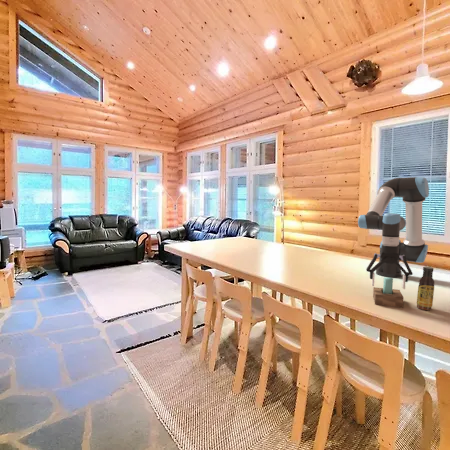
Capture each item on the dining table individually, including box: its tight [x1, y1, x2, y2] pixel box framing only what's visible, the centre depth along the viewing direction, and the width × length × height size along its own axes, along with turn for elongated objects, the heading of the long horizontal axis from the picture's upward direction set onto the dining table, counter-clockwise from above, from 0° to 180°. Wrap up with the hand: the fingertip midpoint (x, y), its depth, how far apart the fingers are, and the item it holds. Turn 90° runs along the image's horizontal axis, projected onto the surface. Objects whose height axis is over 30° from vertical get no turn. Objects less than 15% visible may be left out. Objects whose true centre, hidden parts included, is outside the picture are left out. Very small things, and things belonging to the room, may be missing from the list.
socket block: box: [372, 286, 404, 308], centre depth 153 cm, size 12×12×5 cm
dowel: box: [382, 276, 394, 294], centre depth 153 cm, size 4×4×12 cm
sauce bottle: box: [416, 266, 435, 311], centre depth 143 cm, size 7×6×20 cm
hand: (388, 286), depth 152 cm, fingers open, 13 cm apart
